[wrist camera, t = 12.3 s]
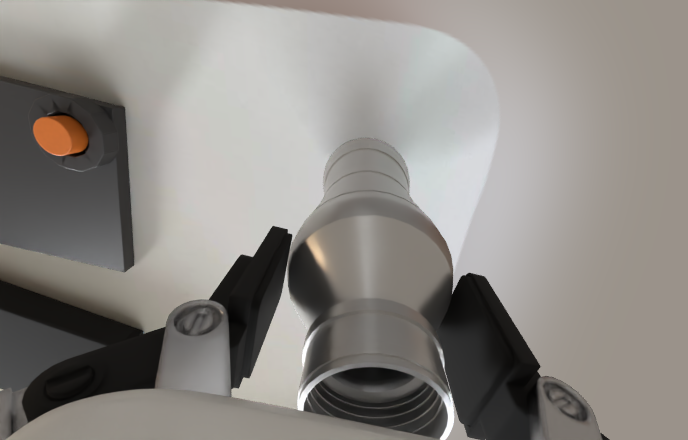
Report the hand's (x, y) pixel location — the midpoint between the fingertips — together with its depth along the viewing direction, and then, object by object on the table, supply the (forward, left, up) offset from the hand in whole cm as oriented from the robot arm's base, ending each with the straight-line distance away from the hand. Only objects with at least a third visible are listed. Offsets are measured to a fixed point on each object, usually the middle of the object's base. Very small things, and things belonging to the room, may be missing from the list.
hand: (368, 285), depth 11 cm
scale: (+8, -28, -16) cm, 33 cm away
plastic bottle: (0, 0, -15) cm, 15 cm away
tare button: (+2, -23, -14) cm, 27 cm away
